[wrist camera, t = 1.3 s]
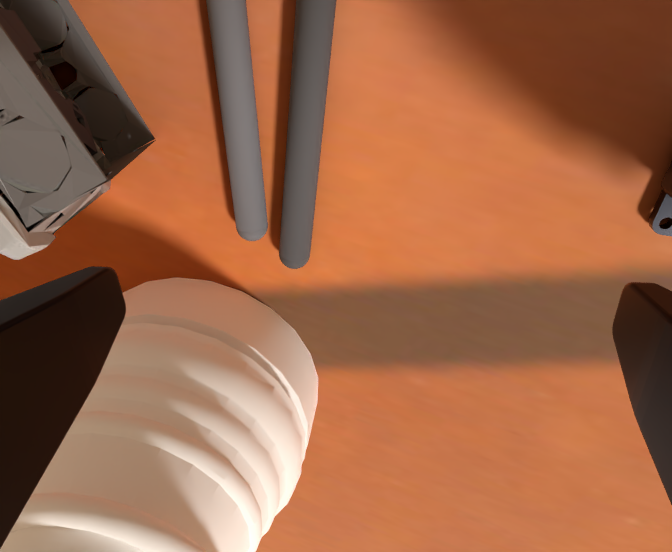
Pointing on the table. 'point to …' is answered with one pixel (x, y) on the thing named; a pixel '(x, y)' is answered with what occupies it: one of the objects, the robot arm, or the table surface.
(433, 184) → the table surface
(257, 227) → the cord
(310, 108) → the cord
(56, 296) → the robot arm
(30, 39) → the electrical switch
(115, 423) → the honey pot
